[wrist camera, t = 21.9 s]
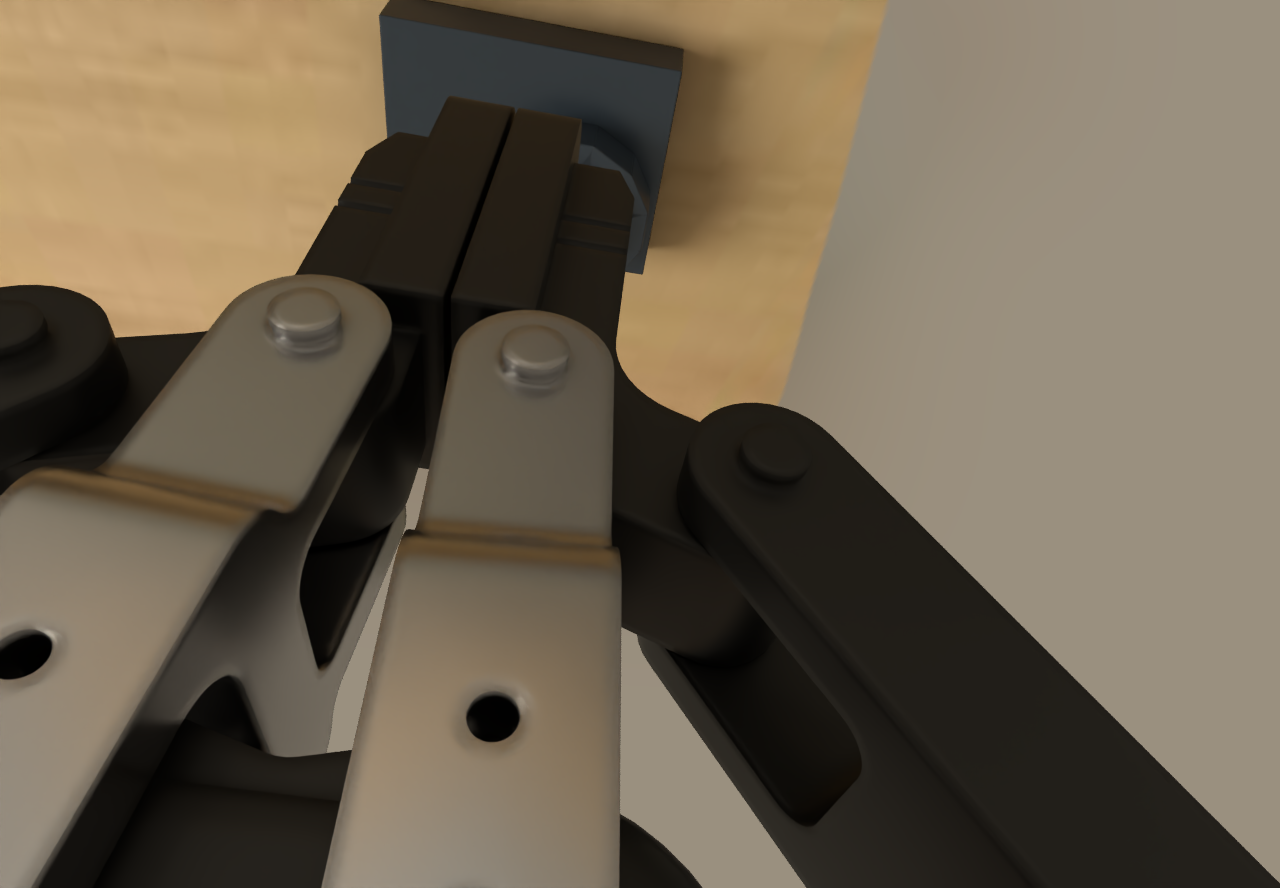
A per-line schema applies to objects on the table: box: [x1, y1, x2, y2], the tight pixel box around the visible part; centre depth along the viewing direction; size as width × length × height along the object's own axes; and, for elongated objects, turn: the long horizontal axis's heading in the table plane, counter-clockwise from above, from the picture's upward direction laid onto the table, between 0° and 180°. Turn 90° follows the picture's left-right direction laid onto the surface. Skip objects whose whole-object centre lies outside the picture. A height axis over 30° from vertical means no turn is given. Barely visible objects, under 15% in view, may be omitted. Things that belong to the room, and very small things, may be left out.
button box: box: [379, 0, 684, 274], centre depth 37 cm, size 12×10×4 cm
